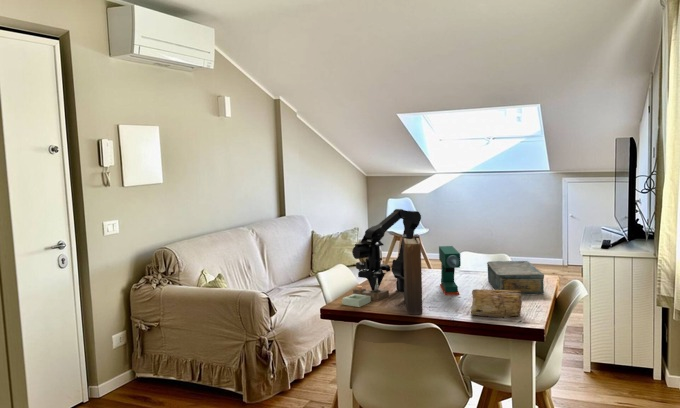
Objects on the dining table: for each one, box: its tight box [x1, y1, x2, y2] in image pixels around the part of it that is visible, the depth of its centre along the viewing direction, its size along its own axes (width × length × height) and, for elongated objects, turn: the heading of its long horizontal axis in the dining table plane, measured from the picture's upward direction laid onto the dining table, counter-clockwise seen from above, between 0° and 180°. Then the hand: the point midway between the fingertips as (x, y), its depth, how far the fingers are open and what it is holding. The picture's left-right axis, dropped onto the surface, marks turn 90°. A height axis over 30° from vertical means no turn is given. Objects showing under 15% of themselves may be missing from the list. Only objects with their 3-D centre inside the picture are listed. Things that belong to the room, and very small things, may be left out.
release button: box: [355, 285, 364, 290], centre depth 259 cm, size 3×3×4 cm
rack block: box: [341, 293, 371, 308], centre depth 244 cm, size 9×9×3 cm
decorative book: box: [401, 233, 424, 315], centre depth 233 cm, size 23×7×30 cm, turn 176°
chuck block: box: [362, 288, 390, 301], centre depth 253 cm, size 9×9×3 cm
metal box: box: [486, 260, 545, 295], centre depth 263 cm, size 21×32×10 cm, turn 174°
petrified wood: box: [470, 288, 523, 318], centre depth 219 cm, size 19×13×10 cm
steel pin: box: [372, 277, 380, 293], centre depth 253 cm, size 3×3×9 cm
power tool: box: [438, 245, 462, 296], centre depth 254 cm, size 32×7×20 cm, turn 177°
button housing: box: [352, 287, 367, 295], centre depth 259 cm, size 4×4×3 cm
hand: (375, 289), depth 253 cm, fingers closed on steel pin, 3 cm apart
